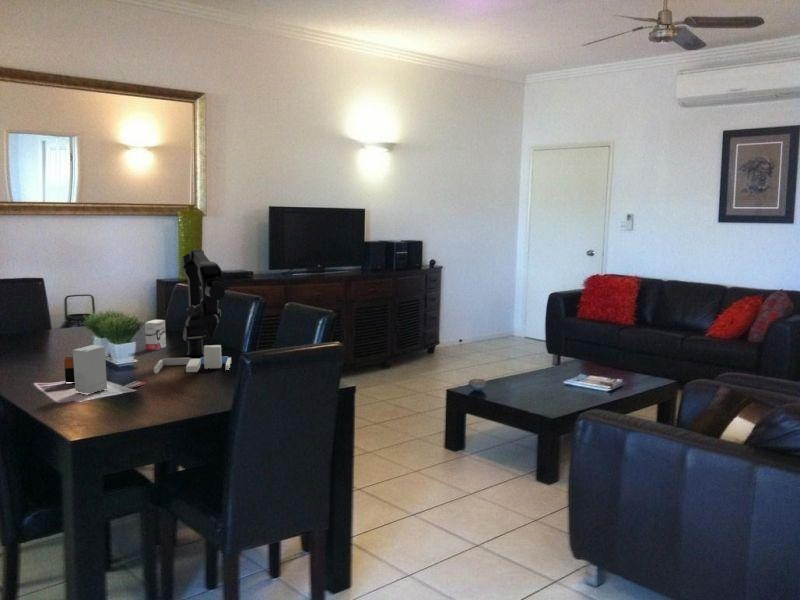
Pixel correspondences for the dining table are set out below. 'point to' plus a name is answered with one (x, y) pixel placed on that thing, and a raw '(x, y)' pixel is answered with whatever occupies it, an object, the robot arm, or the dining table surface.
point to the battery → (69, 368)
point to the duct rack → (188, 363)
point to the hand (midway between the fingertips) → (211, 338)
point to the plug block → (212, 356)
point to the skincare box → (90, 369)
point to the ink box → (155, 334)
